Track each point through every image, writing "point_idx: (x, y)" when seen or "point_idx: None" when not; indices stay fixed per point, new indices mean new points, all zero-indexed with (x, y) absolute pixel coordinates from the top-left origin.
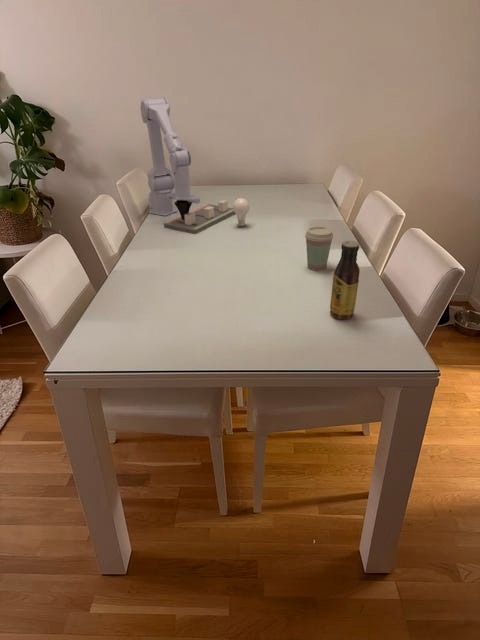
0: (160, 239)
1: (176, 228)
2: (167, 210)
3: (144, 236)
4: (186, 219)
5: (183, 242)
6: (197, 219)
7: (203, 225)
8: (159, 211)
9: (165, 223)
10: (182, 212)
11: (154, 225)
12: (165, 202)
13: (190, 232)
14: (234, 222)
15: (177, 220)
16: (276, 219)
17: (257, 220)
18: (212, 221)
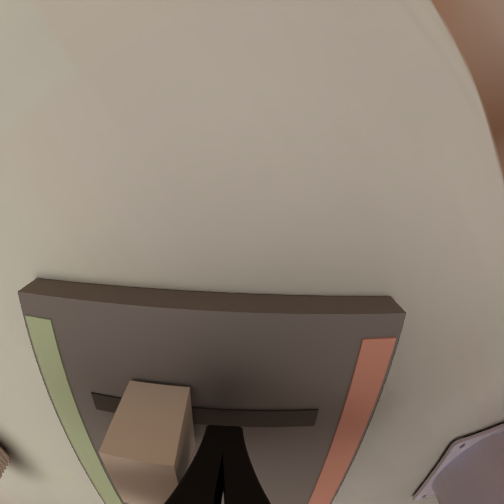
0: (226, 5)
1: (239, 301)
2: (455, 473)
3: (414, 24)
4: (156, 422)
5: (12, 76)
6: None
7: (55, 403)
8: (491, 444)
9: (398, 329)
10: (204, 488)
11: (478, 296)
12: (478, 502)
13: (74, 284)
14: (57, 482)
15: (328, 428)
16: (7, 495)
17: (28, 494)
18: (85, 468)
